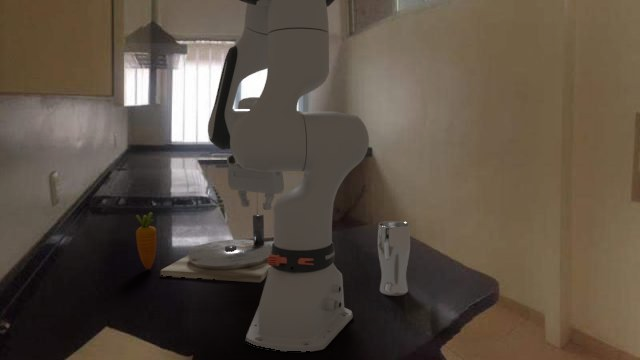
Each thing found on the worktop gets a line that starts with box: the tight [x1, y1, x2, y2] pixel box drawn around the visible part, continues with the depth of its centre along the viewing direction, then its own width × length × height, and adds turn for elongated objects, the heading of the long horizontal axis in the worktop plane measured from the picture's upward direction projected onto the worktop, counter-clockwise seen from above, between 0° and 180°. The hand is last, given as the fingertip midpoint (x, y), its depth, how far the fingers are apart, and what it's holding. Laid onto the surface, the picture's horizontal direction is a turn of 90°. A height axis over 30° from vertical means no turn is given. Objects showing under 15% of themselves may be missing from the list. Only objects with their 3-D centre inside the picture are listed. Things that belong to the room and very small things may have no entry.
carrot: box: [135, 211, 158, 270], centre depth 120 cm, size 5×5×15 cm
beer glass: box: [377, 220, 411, 297], centre depth 102 cm, size 7×7×15 cm
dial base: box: [160, 254, 272, 283], centre depth 126 cm, size 26×26×2 cm
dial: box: [187, 213, 272, 270], centre depth 125 cm, size 22×22×10 cm
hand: (256, 207), depth 130 cm, fingers open, 8 cm apart
